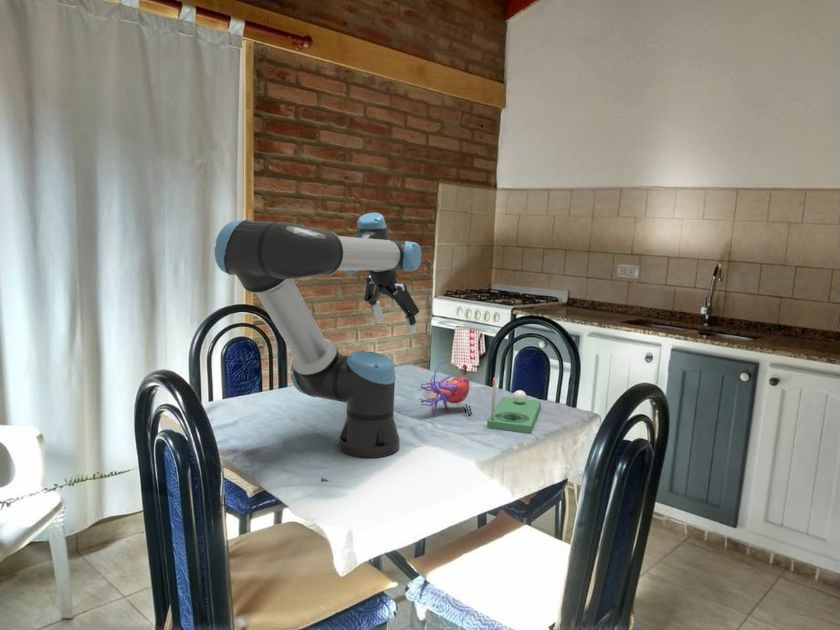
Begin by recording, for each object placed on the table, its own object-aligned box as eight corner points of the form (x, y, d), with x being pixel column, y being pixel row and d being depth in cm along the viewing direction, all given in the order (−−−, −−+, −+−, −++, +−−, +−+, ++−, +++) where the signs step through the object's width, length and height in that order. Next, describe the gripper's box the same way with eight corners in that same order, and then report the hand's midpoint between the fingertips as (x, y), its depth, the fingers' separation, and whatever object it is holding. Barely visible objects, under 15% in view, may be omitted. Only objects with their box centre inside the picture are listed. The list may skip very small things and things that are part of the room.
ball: (525, 405, 195) (525, 392, 194) (511, 404, 196) (512, 391, 195) (526, 402, 199) (527, 389, 198) (513, 400, 200) (514, 388, 199)
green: (529, 434, 175) (533, 384, 173) (486, 429, 178) (488, 379, 176) (540, 407, 201) (543, 363, 198) (502, 402, 204) (504, 359, 202)
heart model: (483, 416, 193) (437, 416, 179) (459, 416, 200) (413, 417, 186) (481, 359, 196) (436, 355, 182) (457, 362, 203) (412, 358, 189)
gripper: (422, 268, 178) (435, 330, 189) (360, 251, 193) (375, 310, 205) (405, 281, 173) (419, 344, 185) (342, 263, 189) (359, 323, 200)
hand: (396, 326), depth 195 cm, fingers open, 13 cm apart
